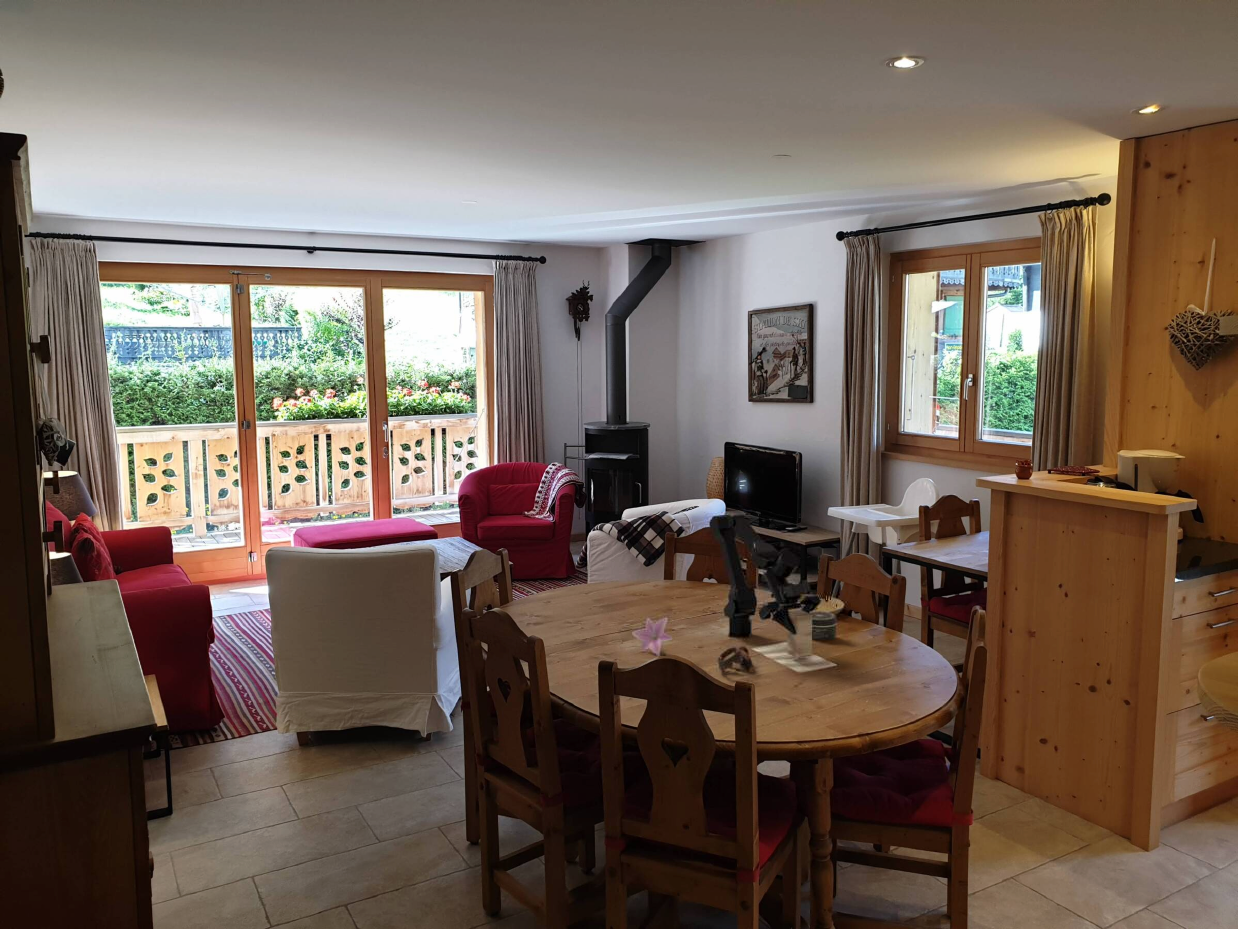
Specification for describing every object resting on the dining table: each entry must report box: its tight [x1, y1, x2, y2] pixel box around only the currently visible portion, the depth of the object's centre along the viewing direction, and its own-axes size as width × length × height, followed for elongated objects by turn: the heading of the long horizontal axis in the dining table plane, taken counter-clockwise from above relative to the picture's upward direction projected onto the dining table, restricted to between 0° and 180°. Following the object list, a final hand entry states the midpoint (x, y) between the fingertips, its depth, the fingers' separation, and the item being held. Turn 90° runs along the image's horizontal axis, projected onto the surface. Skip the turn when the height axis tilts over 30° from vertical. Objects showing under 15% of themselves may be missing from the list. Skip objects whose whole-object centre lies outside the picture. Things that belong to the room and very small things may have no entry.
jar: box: [810, 611, 837, 641], centre depth 282 cm, size 10×10×8 cm
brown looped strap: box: [716, 645, 755, 674], centre depth 255 cm, size 12×10×8 cm
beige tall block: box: [786, 610, 813, 658], centre depth 260 cm, size 5×5×12 cm
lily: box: [631, 617, 673, 657], centre depth 275 cm, size 12×12×10 cm
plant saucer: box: [773, 594, 845, 616], centre depth 312 cm, size 24×24×3 cm
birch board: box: [750, 641, 837, 674], centre depth 264 cm, size 24×13×1 cm, turn 26°
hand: (802, 632), depth 258 cm, fingers closed on beige tall block, 5 cm apart
